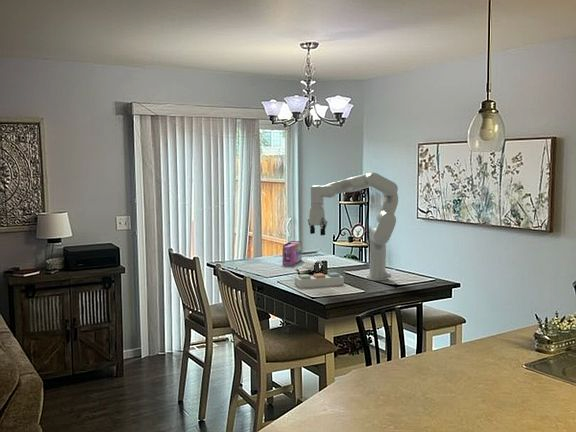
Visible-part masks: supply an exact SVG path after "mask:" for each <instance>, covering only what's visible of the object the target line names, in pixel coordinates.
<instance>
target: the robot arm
mask: <svg viewBox="0 0 576 432" xmlns="http://www.w3.org/2000/svg"><path fill="white" fill-rule="evenodd" d="M368 188H373V189H375V190H377V191H379V192H381V193H382V195H383V203H382V205H381V207H380V210H379V212H378V214H377V217H376V221H377V223H378V225H377V227H373V228H372V229H371V230H370V232H369V236H368V237H369V275H367V276H366V279H367V280H369V281H375V282H376V281H379V282H381V281H387V280H388V279H389V278H392V274H391V273H388V271H386V268H387V267H386V265H387V262H386V260H387V258H386V257H387V256H386V255H387V254H386V253H387V249H386V247H387V245H386V244H387V243H388V242H389V241H390V239H391V236H392V234H393V231H394V230H395V227H396V225H397V217H396V214H395V213H396V210H397V206H398V205H399V195H398V190H399V188H398V185H397V184H396V183H395V182H394V181H392V180H390V179H388V178H387V177H384V176H382V175H380V174H379V173H377V172H367V173H363V174H360V175H356V176H352V177H347V178H345V179H342V180H339V181H335V182H331V183H328V184H325V185H319V184H318V185H311V186H310V209H309V214H308V215H309V216H308V219H307V223H308V226H309V233H310V235H313V234H316V227H315V226H319V227H320V228H319V230H320V231H319V232H320V233H319V234H320V236H325V235H326V229H327V225H328V222H329V221H327V220H326V216H325V208H324V198H329V199H330V198H335V197H336V195H339V194H343V193H352V192H358V191H361V190H364V189H368Z"/></svg>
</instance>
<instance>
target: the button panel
mask: <svg viewBox="0 0 576 432" xmlns="http://www.w3.org/2000/svg"><path fill="white" fill-rule="evenodd" d="M324 275H325V278H315V277H313V275H310V276H311V279H300V278H299V276H295V277H294V286H295V287H298V288H299V289H302V288H303V289H305V288H316V287H328V286H331V287H332V286H341V285H344V284H345V278H344V276H342V275H340V277H329V276H328V274H324Z"/></svg>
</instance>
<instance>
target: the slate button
mask: <svg viewBox="0 0 576 432" xmlns="http://www.w3.org/2000/svg"><path fill="white" fill-rule="evenodd" d="M327 275H328V276H329V277H340V273H338V272H327Z"/></svg>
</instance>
